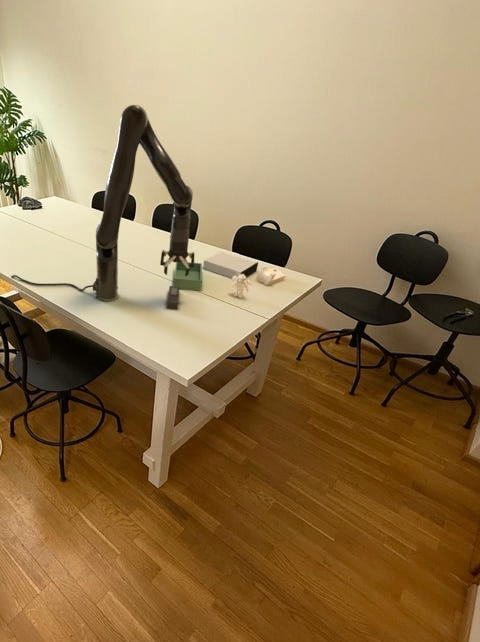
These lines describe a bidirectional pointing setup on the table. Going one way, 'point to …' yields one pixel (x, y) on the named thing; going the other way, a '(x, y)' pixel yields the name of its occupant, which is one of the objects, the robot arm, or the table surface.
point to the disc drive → (230, 265)
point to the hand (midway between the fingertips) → (176, 274)
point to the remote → (173, 297)
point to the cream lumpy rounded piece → (269, 275)
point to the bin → (188, 276)
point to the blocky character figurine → (240, 284)
